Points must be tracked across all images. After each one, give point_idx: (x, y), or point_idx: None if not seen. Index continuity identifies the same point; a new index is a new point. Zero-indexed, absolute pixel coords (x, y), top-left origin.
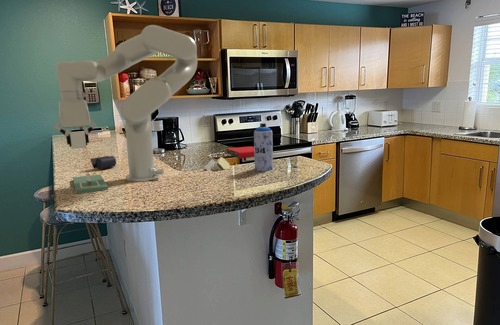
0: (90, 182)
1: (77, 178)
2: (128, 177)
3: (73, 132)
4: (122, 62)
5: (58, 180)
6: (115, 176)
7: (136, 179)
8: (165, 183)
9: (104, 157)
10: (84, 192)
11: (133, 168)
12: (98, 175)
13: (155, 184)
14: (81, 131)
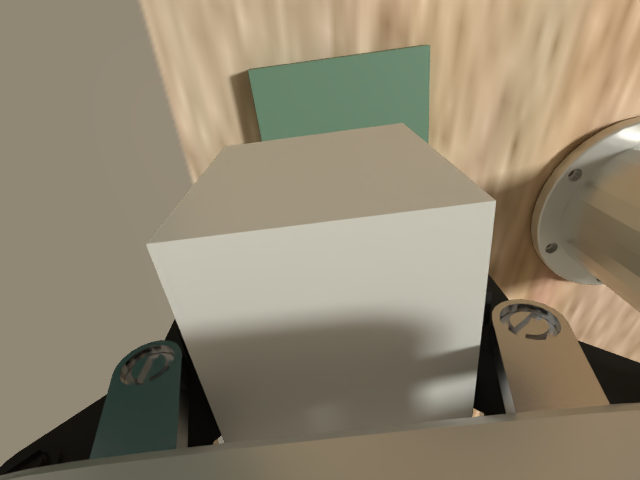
0: None
1: (285, 128)
2: (551, 227)
3: (271, 350)
4: None
5: (142, 6)
6: (515, 67)
7: (566, 279)
8: (635, 341)
9: None
10: None
11: (606, 285)
12: (415, 86)
13: (597, 341)
14: (453, 210)
